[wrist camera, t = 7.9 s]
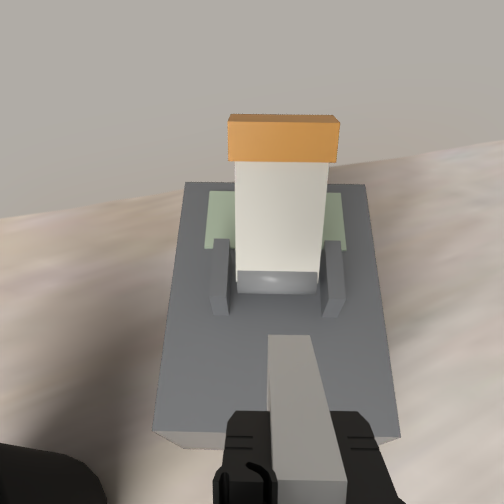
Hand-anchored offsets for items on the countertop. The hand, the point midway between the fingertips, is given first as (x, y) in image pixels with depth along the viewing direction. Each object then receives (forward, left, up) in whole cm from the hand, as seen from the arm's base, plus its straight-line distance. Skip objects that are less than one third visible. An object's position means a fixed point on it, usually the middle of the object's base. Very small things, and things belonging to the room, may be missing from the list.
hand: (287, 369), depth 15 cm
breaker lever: (0, +7, -9) cm, 12 cm away
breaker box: (0, +8, -22) cm, 24 cm away
